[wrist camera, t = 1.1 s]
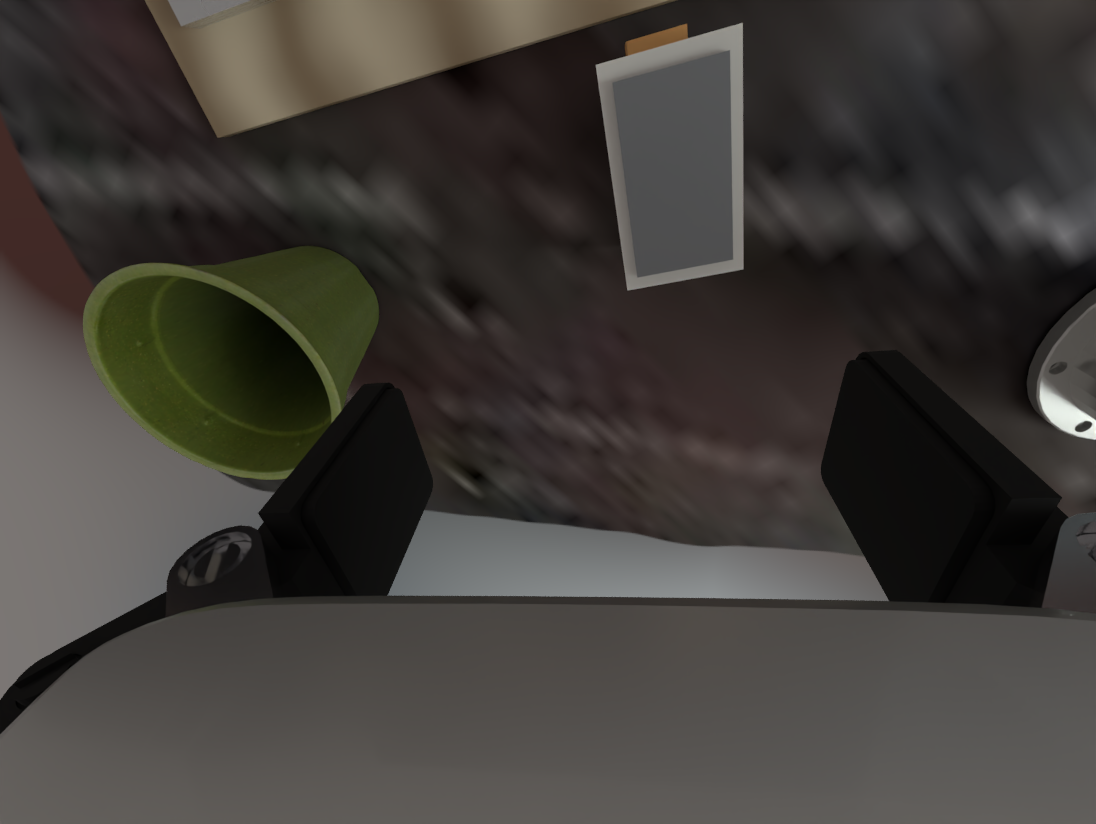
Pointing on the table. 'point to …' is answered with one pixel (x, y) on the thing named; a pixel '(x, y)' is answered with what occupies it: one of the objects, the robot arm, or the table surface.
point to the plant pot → (233, 353)
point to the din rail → (211, 10)
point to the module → (676, 153)
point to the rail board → (354, 48)
